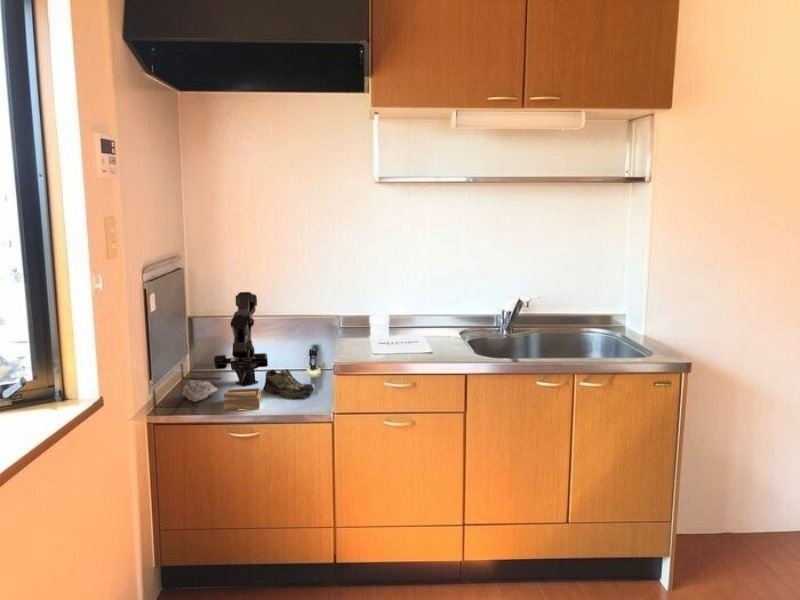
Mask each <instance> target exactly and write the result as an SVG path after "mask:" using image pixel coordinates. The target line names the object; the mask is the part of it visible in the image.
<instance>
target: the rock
mask: <svg viewBox="0 0 800 600" xmlns="http://www.w3.org/2000/svg"><path fill="white" fill-rule="evenodd" d="M217 392H218V388H217V386H214V384H212V383H211V382H210V381H207V380H206V381H202V380H199V379H197V380H193V379H192V380H191V379H190V380H189V382H188V383H186V384H185V385H184V387H183V392H182V393H183V394H182V396H184V397H185V398H186V399H188V400H189V401H192V402H194V403H196V402H198V401H200V400H204V399H206V398H208V396H211V395H213V394H215V393H217Z"/></svg>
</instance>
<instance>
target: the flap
mask: <svg viewBox="0 0 800 600" xmlns="http://www.w3.org/2000/svg"><path fill="white" fill-rule="evenodd" d="M222 395H223V397H224V398H225V400H240V399H257V395H256V391H252V392H231V393H226V392H223V393H222ZM224 398H223V399H224Z"/></svg>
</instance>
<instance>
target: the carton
mask: <svg viewBox="0 0 800 600" xmlns="http://www.w3.org/2000/svg"><path fill="white" fill-rule="evenodd" d="M261 389H262V388H261V387H256V388H236V389H235V388H234V389H226V392H225V393H231V392H252V391H256V395H257V399H240V400H225V398H223V411H224V410H235V411H239V410H238V409H254V410H260V408H259V407H260V406H261V402H262V391H261ZM260 401H261V402H260Z"/></svg>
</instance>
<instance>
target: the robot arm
mask: <svg viewBox="0 0 800 600" xmlns="http://www.w3.org/2000/svg"><path fill="white" fill-rule="evenodd" d="M235 306H236V307H237V311H235V312H234V314H233V317H231V320H230V328H231V329H232V334H233V342H232V354H231V355H232V356H231V357H229V358H228V357H227V356H226V354H215V356H214V357H213V364H214V368H215V369H216V370H223V369H224V370H225V369H226V368H227V367H228V365H230V369H231V370H232V371H235V374H236V375H237V378H238V380H237V381H235V384H237V385H240V386H244V387H245V386H250V385H254V384H257V383H259V381H258V380H256V371H255V370H257V369H259V368H267V367H268V366H269V361H268V354H267V353H265V352H263V353H262V352H261V353H255V352H256V351H255V346H254V345H253V340H252V327H253V326H254V325H255V319H254V318H253V315H254V313H255V312H256V306H258V297H257V295H256V294H254V293H252V292H250V291H240V292H238V294H236V295H235Z"/></svg>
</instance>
